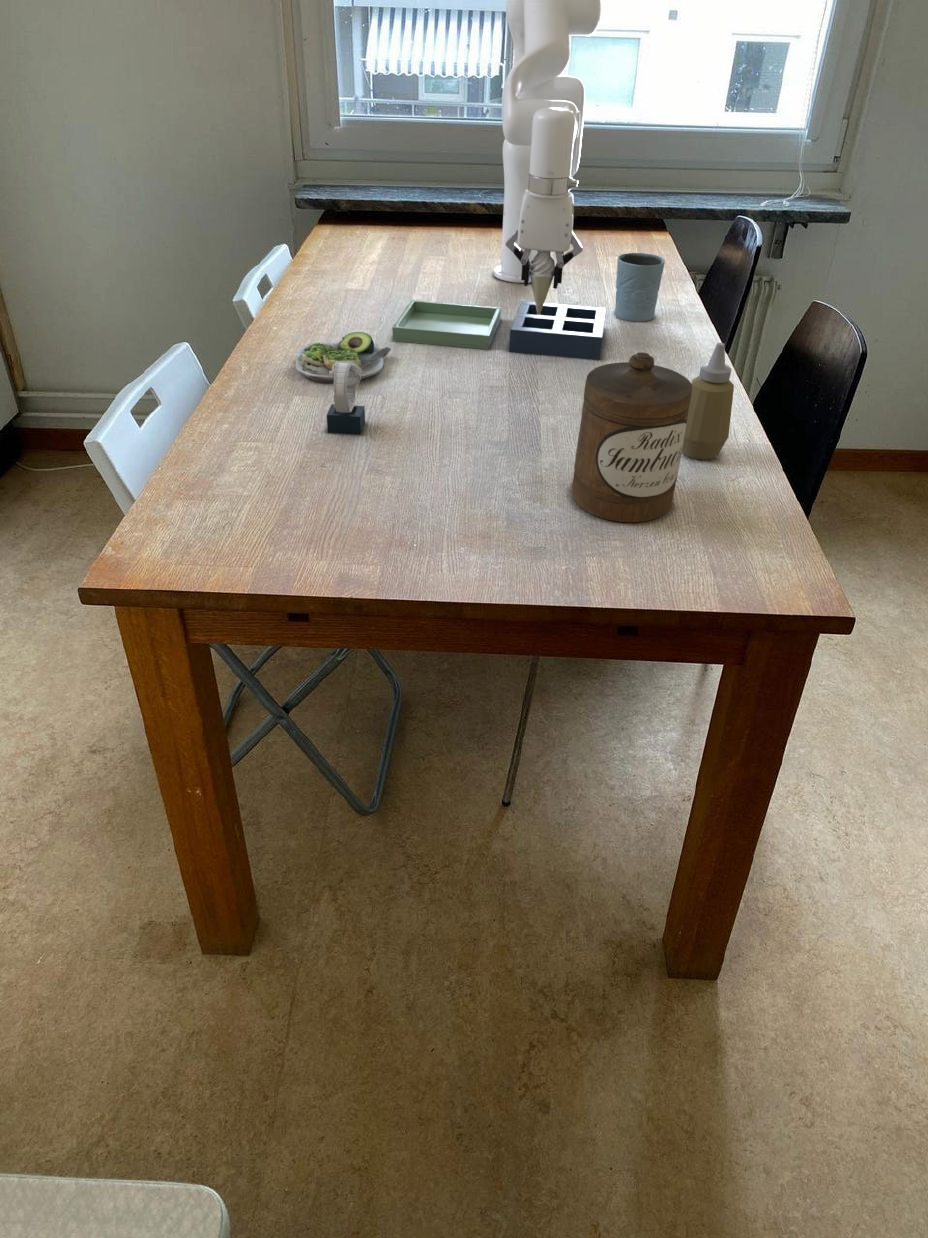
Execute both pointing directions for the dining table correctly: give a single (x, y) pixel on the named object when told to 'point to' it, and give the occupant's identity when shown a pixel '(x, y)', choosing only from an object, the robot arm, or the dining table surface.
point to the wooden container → (630, 439)
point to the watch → (345, 400)
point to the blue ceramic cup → (637, 285)
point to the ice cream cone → (541, 277)
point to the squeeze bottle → (709, 408)
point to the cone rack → (558, 330)
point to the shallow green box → (447, 324)
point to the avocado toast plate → (340, 357)
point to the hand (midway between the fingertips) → (541, 284)
